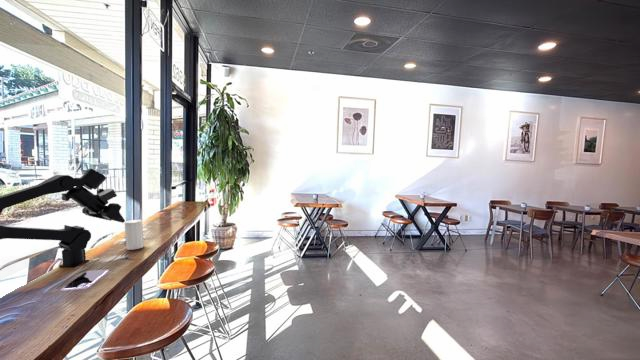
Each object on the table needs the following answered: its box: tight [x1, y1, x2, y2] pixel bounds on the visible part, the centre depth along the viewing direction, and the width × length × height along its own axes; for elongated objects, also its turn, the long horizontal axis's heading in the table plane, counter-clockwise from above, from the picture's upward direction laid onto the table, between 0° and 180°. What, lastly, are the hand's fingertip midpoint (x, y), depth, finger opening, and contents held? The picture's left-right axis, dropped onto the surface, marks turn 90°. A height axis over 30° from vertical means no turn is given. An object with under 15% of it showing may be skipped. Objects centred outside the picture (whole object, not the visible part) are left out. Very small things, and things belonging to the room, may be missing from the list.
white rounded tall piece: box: [124, 219, 145, 251], centre depth 131 cm, size 7×7×12 cm
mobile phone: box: [60, 269, 110, 292], centre depth 97 cm, size 8×1×15 cm
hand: (117, 220), depth 124 cm, fingers open, 9 cm apart
